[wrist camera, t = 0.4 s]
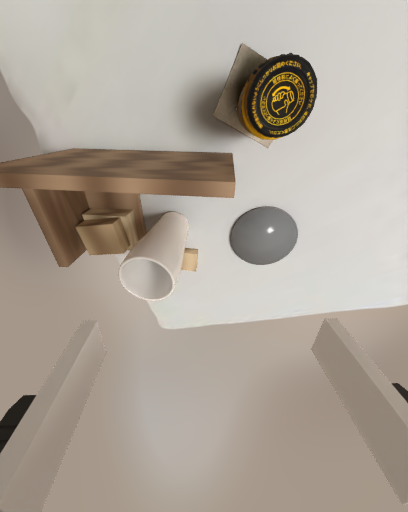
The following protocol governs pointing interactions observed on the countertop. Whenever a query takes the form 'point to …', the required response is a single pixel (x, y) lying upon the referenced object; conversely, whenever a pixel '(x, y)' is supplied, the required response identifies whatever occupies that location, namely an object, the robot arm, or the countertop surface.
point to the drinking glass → (156, 259)
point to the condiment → (267, 95)
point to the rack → (109, 186)
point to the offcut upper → (103, 236)
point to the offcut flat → (190, 259)
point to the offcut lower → (124, 214)
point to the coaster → (264, 235)
